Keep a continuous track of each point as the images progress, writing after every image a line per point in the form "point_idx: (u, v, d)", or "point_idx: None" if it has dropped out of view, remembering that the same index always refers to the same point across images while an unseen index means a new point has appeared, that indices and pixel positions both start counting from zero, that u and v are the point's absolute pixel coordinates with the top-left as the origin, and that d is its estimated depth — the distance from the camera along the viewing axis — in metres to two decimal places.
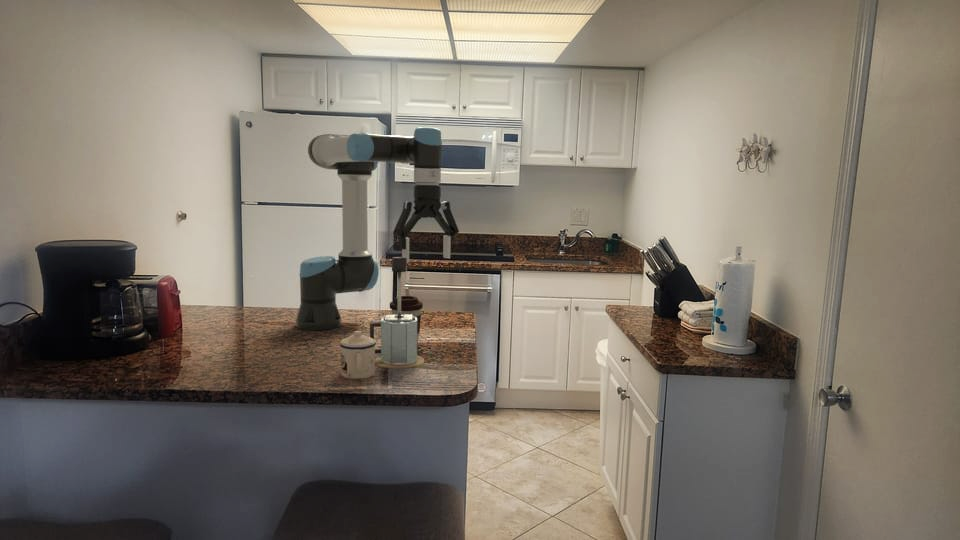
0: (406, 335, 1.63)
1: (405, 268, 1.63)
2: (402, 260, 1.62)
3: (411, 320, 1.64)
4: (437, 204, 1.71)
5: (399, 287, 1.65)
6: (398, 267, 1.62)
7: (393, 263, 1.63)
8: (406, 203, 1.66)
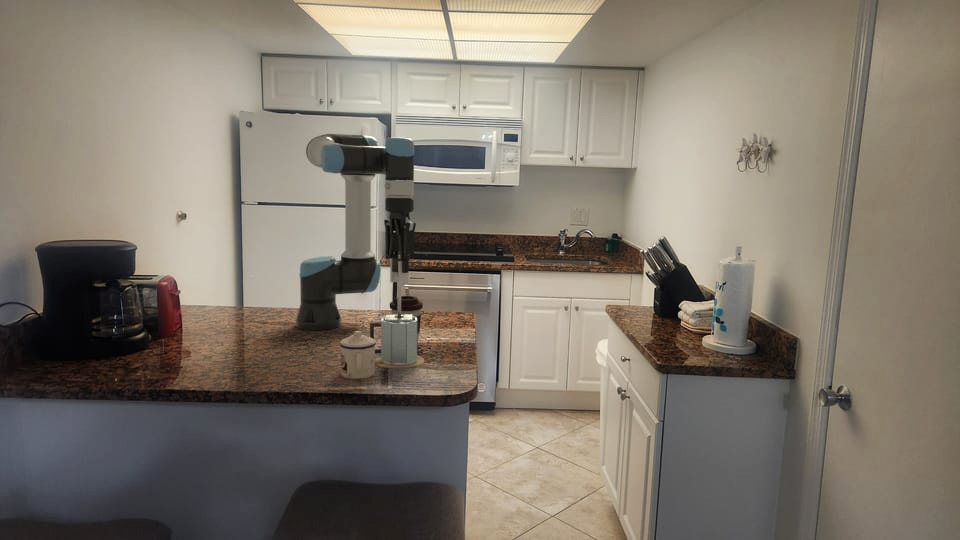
0: (406, 335, 1.63)
1: None
2: None
3: (411, 320, 1.64)
4: (401, 218, 1.59)
5: (399, 287, 1.65)
6: None
7: (393, 263, 1.63)
8: None
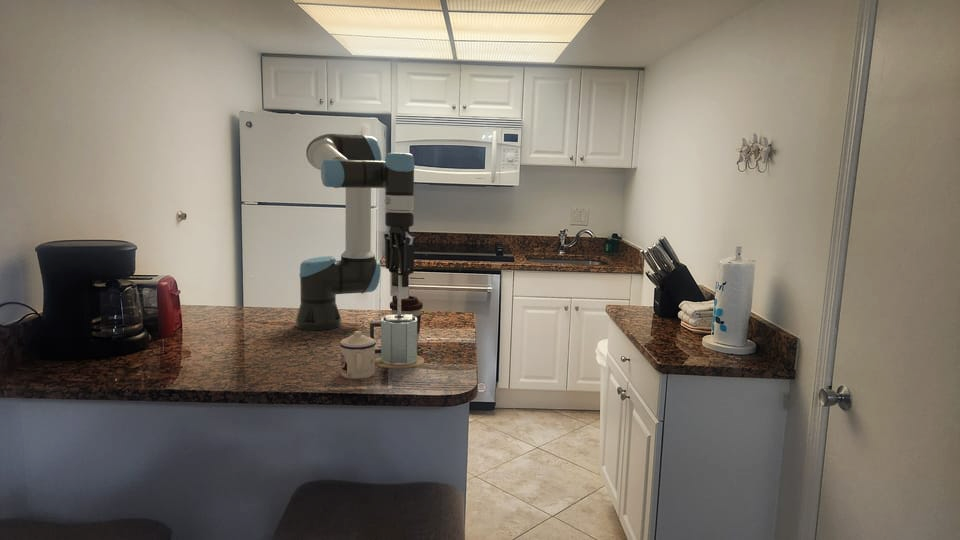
0: (406, 335, 1.63)
1: None
2: None
3: (411, 320, 1.64)
4: (401, 232, 1.60)
5: (399, 301, 1.65)
6: None
7: (393, 277, 1.63)
8: None
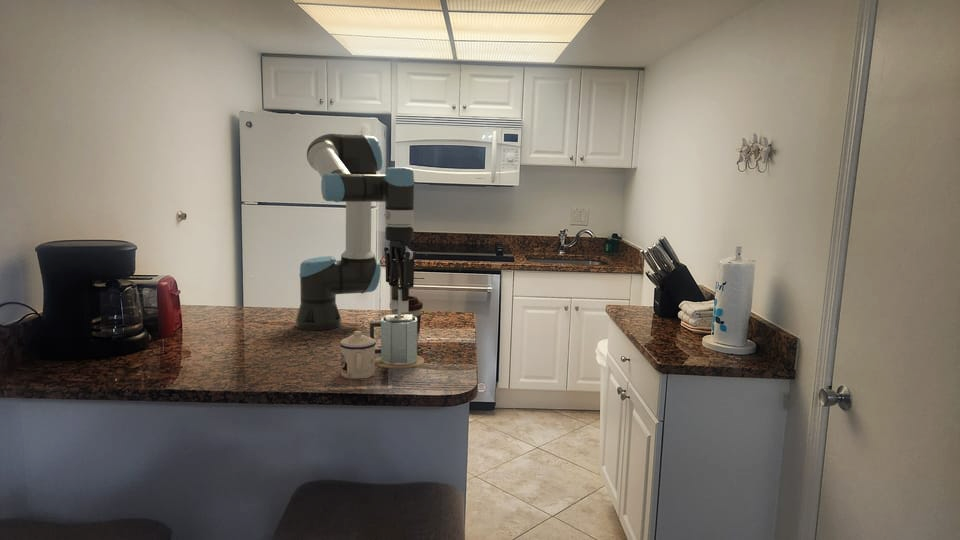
0: (406, 335, 1.63)
1: None
2: None
3: (411, 320, 1.64)
4: (400, 247, 1.60)
5: (399, 315, 1.66)
6: None
7: (393, 291, 1.64)
8: None
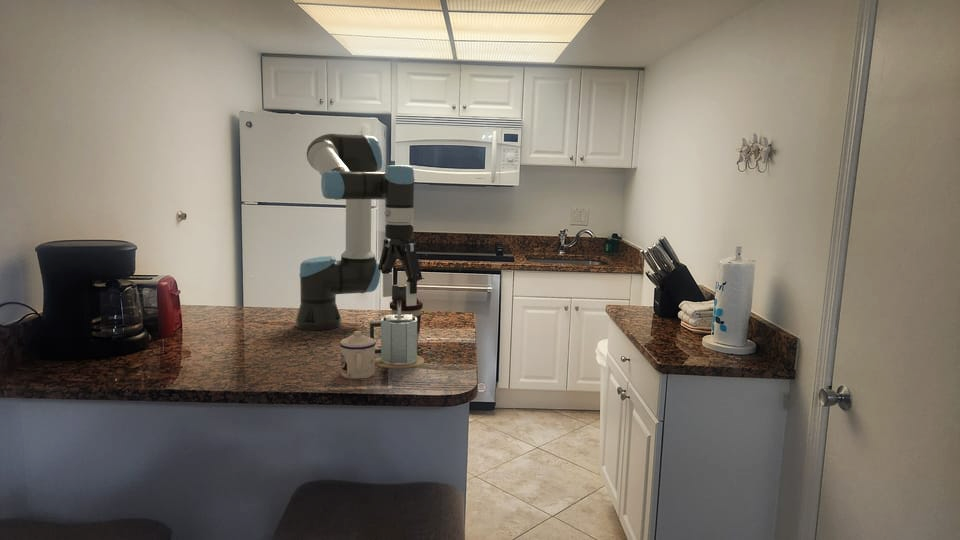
0: (406, 335, 1.63)
1: (405, 296, 1.65)
2: (402, 288, 1.63)
3: (411, 320, 1.64)
4: (400, 245, 1.61)
5: (399, 315, 1.66)
6: (398, 296, 1.63)
7: (393, 291, 1.64)
8: None
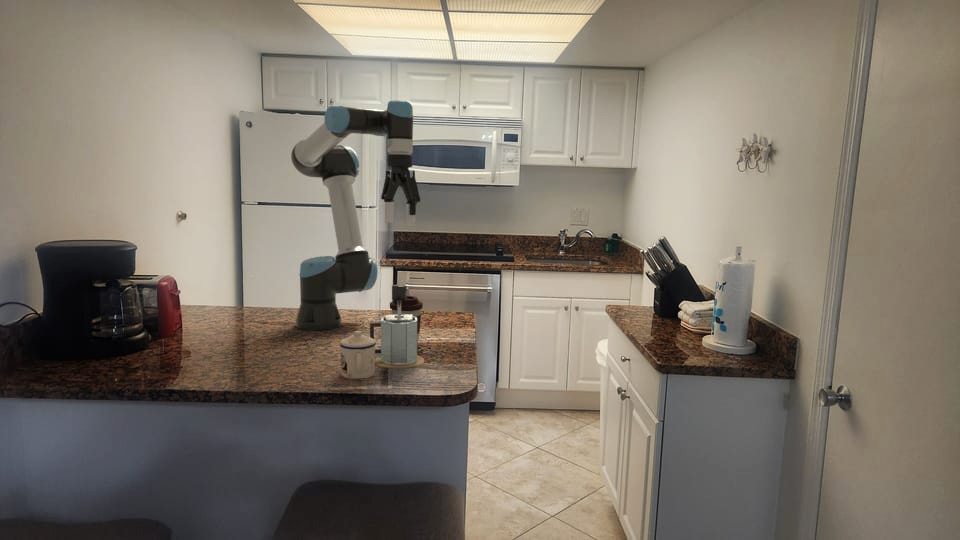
0: (406, 335, 1.63)
1: (405, 296, 1.65)
2: (402, 288, 1.63)
3: (411, 320, 1.64)
4: (401, 172, 1.80)
5: (399, 315, 1.66)
6: (398, 296, 1.63)
7: (393, 291, 1.64)
8: None
